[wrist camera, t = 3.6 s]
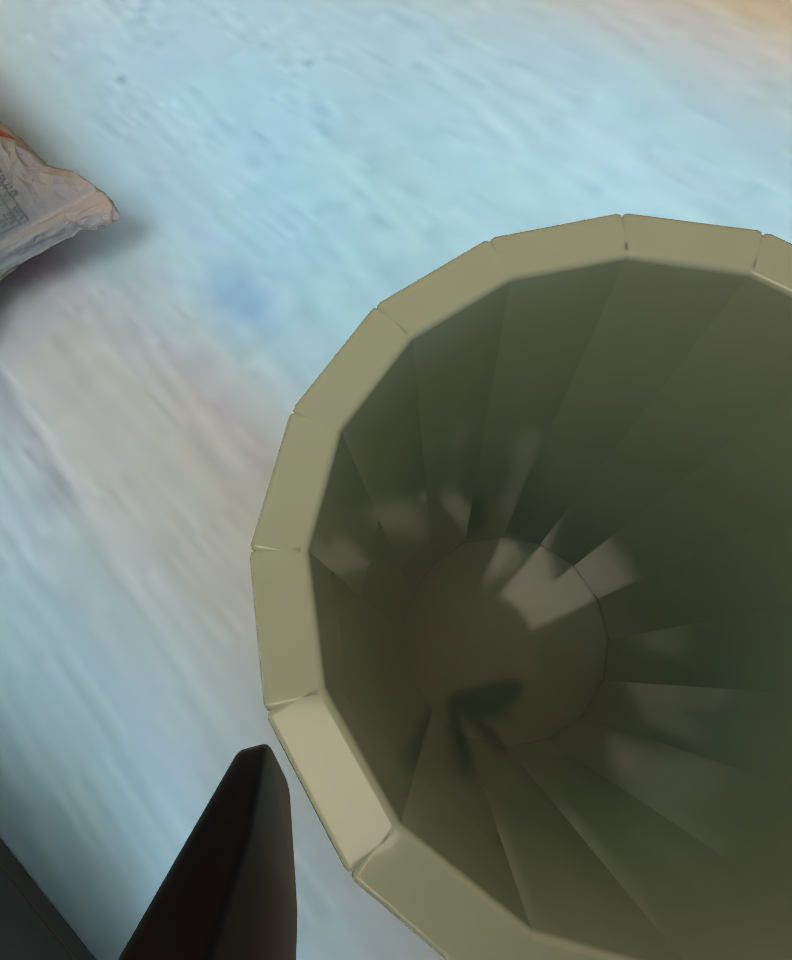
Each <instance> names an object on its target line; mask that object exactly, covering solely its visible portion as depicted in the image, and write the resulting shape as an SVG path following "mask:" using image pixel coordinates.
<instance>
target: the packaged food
mask: <svg viewBox="0 0 792 960" xmlns="http://www.w3.org/2000/svg"><path fill="white" fill-rule="evenodd" d="M118 220H119V214H118V211H117V209H116V207H115V205H114V203H113V201H112V200H111V199H110V198H109V197H108V196H107V195H106V194H105V193H104V192H103V191H101V190H100V189H98V188H96V187H95V186H94V185H92V184H91V183H90V182H88V181H87V180H85V179H84V178H83V177H81V176H80V175H78V174H77V173H75V172H74V171H71V170H65V169H57V168H53V167H49V166H48V165H47V164H46V163H45V162H44V161H43V160H41V159H40V158H39V157H38V156H37V155H36V154H35V153H34V152H33V151H32V150H31V149H30V148H29V146H28V145H27V144H26V143H25V142H24V141H23V140H22V139H21V138H19V137H18V136H16V135H15V134H14V133H13V132H12V131H11V130H10V129H9V128H8V127H6V126H5V125H3V124H2V123H1V122H0V280H2V279H3V278H4V277H6V276H7V275H8V274H10V273H11V272H12V271H14V270H15V269H16V268H18V267H19V266H21V265H22V264H23V263H24V262H26V261H27V260H28V259H30V258H32V257H34V256H36V255H40V254H41V253H43V252H44V251H46V250H47V249H49V248H50V247H51V246H54V245H56V244H58V243H60V242H62V241H63V240H65V239H67V238H72V237H74V235H75V234H76V233H77V232H78V231H80V230H96V229H97V228H98V227H99V225H106V226H108V225H109V224H110V223H111V222H113V221H118Z"/></svg>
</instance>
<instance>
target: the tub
mask: <svg viewBox="0 0 792 960" xmlns="http://www.w3.org/2000/svg"><path fill="white" fill-rule="evenodd" d="M0 960H95V959H94V958H93V956H92V955H91V954H90V952H89V951H88V950H87V949H86V947H85V946H84V945H83V944H82V942H81V941H80V940H79V938H78V937H77V936H76V935H75V933H74V932H73V931H72V930H71V928H70V927H69V926H68V924H67V923H66V922H65V921H64V919H63V918H62V917H61V916H60V914H59V913H58V912H57V910H56V909H55V908H54V907H53V905H52V904H51V903H50V902H49V900H48V899H47V898H46V896H45V895H44V894H43V893H42V891H41V890H40V889H39V888H38V886H37V885H36V884H35V882H34V881H33V880H32V879H31V877H30V876H29V875H28V874H27V872H26V871H25V870H24V868H23V867H22V866H21V865H20V863H19V862H18V861H17V860H16V858H15V857H14V856H13V854H12V853H11V852H10V851H9V849H8V848H7V847H6V846H5V844H4V843H3V842H2V840H1V839H0Z"/></svg>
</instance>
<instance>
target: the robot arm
mask: <svg viewBox="0 0 792 960" xmlns="http://www.w3.org/2000/svg"><path fill="white" fill-rule="evenodd" d="M296 944H297V899H296V882H295V867H294V852H293V837H292V821H291V806H290V794H289V788H288V784H287V780H286V778H285V776H284V774H283V772H282V770H281V768H280V766H279V764H278V761H277V759H276V757H275V755H274V753H273V751H272V749H271V748H270V747H269V746H268V745H266V744H262V745H258V746H254V747H250V748H247V749H243V750H241V751H240V752H239V753H238V754H237V755H236V756H235V758H234V759H233V761H232V763H231V765H230V766H229V768H228V770H227V772H226V773H225V775H224V777H223V778H222V780H221V782H220V784H219V785H218V787H217V789H216V791H215V792H214V794H213V796H212V798H211V799H210V801H209V803H208V804H207V806H206V808H205V810H204V811H203V813H202V815H201V817H200V818H199V820H198V822H197V824H196V825H195V827H194V829H193V830H192V832H191V834H190V836H189V837H188V839H187V841H186V843H185V844H184V846H183V848H182V850H181V851H180V853H179V855H178V856H177V858H176V860H175V862H174V863H173V865H172V867H171V869H170V870H169V872H168V874H167V876H166V877H165V879H164V881H163V882H162V884H161V886H160V888H159V889H158V891H157V893H156V895H155V896H154V898H153V900H152V902H151V903H150V905H149V907H148V908H147V910H146V912H145V914H144V915H143V917H142V919H141V921H140V922H139V924H138V926H137V928H136V929H135V931H134V933H133V934H132V936H131V938H130V940H129V941H128V943H127V945H126V947H125V948H124V950H123V952H122V954H121V955H120V957H119V959H118V960H296Z"/></svg>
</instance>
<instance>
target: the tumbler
mask: <svg viewBox="0 0 792 960" xmlns="http://www.w3.org/2000/svg"><path fill="white" fill-rule="evenodd" d="M293 412H294V413H293V414H291V415H290V417H289V419H288V422H287V426H286V429H285V432H284V436H283V439H282V442H281V446H280V449H279V452H278V456H277V459H276V462H275V466H274V469H273V472H272V476H271V479H270V483H269V486H268V489H267V493H266V496H265V499H264V503H263V506H262V509H261V513H260V516H259V519H258V523H257V526H256V530H255V533H254V536H253V540H252V543H251V546H252V550H253V552H251V556H250V565H251V575H252V586H253V596H254V606H255V617H256V627H257V638H258V648H259V659H260V669H261V680H262V690H263V700H264V705H265V707H266V709H267V710H270V711H269V712H268V720H269V722H270V724H271V726H272V728H273V730H274V732H275V734H276V736H277V738H278V740H279V741H280V743H281V745H282V747H283V749H284V751H285V753H286V755H287V757H288V759H289V761H290V763H291V765H292V767H293V769H294V771H295V772H296V774H297V776H298V778H299V780H300V782H301V784H302V786H303V788H304V790H305V792H306V794H307V796H308V798H309V800H310V802H311V804H312V805H313V807H314V809H315V811H316V813H317V815H318V817H319V819H320V821H321V823H322V825H323V827H324V829H325V831H326V833H327V835H328V837H329V838H330V840H331V842H332V844H333V846H334V848H335V850H336V852H337V854H338V856H339V858H340V860H341V862H342V864H343V866H344V868H346V869H347V870H348V871H349V872H353V873H352V877H353V879H354V881H355V882H356V883H357V884H358V885H359V886H360V887H362V888H363V889H364V890H365V891H366V892H367V893H369V894H370V895H371V896H372V897H373V898H374V899H376V900H377V901H378V902H379V903H380V904H381V905H383V906H384V907H385V908H386V909H387V910H388V911H390V912H391V913H392V914H393V915H394V916H395V917H396V918H398V919H399V920H400V921H401V922H402V923H403V924H405V925H406V926H407V927H408V928H409V929H410V930H412V931H413V932H414V933H415V934H416V935H417V936H419V937H420V938H421V939H422V940H423V941H424V942H426V943H427V944H428V945H429V946H430V947H431V948H433V949H434V950H435V951H436V952H437V953H438V954H439V955H441V956H442V957H443V958H444V959H445V960H792V244H791V243H788V242H786V241H784V240H782V239H780V238H778V237H775V236H773V235H771V234H765V235H763V236H762V233H761V232H760V231H758V230H750V229H743V228H735V227H727V226H719V225H712V224H704V223H696V222H688V221H681V220H673V219H665V218H658V217H650V216H642V215H634V214H625V215H623V216H622V217H621V215H618V214H614V215H609V216H604V217H598V218H593V219H588V220H583V221H578V222H572V223H567V224H562V225H557V226H552V227H546V228H541V229H536V230H531V231H525V232H520V233H515V234H510V235H505V236H499V237H495V238H493V239H491V241H490V242H489V241H484V242H482V243H480V244H479V245H477V246H475V247H474V248H472V249H470V250H469V251H467V252H465V253H463V254H462V255H460V256H458V257H457V258H455V259H453V260H452V261H450V262H448V263H446V264H445V265H443V266H441V267H440V268H438V269H436V270H434V271H433V272H431V273H429V274H428V275H426V276H424V277H423V278H421V279H419V280H417V281H416V282H414V283H412V284H411V285H409V286H407V287H406V288H404V289H402V290H400V291H399V292H397V293H395V294H394V295H392V296H390V297H389V298H387V299H385V300H383V301H382V302H380V303H379V304H378V306H377V308H374V309H372V310H371V311H370V313H369V314H368V315H367V316H366V318H365V319H364V320H363V321H362V323H361V324H360V325H359V326H358V328H357V329H356V330H355V331H354V333H353V334H352V335H351V336H350V338H349V339H348V340H347V341H346V343H345V344H344V345H343V346H342V348H341V349H340V350H339V351H338V353H337V354H336V355H335V356H334V358H333V359H332V360H331V361H330V363H329V364H328V365H327V367H326V368H325V369H324V370H323V372H322V373H321V374H320V375H319V377H318V378H317V379H316V380H315V382H314V383H313V384H312V385H311V387H310V388H309V389H308V390H307V392H306V393H305V394H304V395H303V397H302V398H301V399H300V400H299V402H298V403H297V404H296V405H295V408H294V411H293Z"/></svg>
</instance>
